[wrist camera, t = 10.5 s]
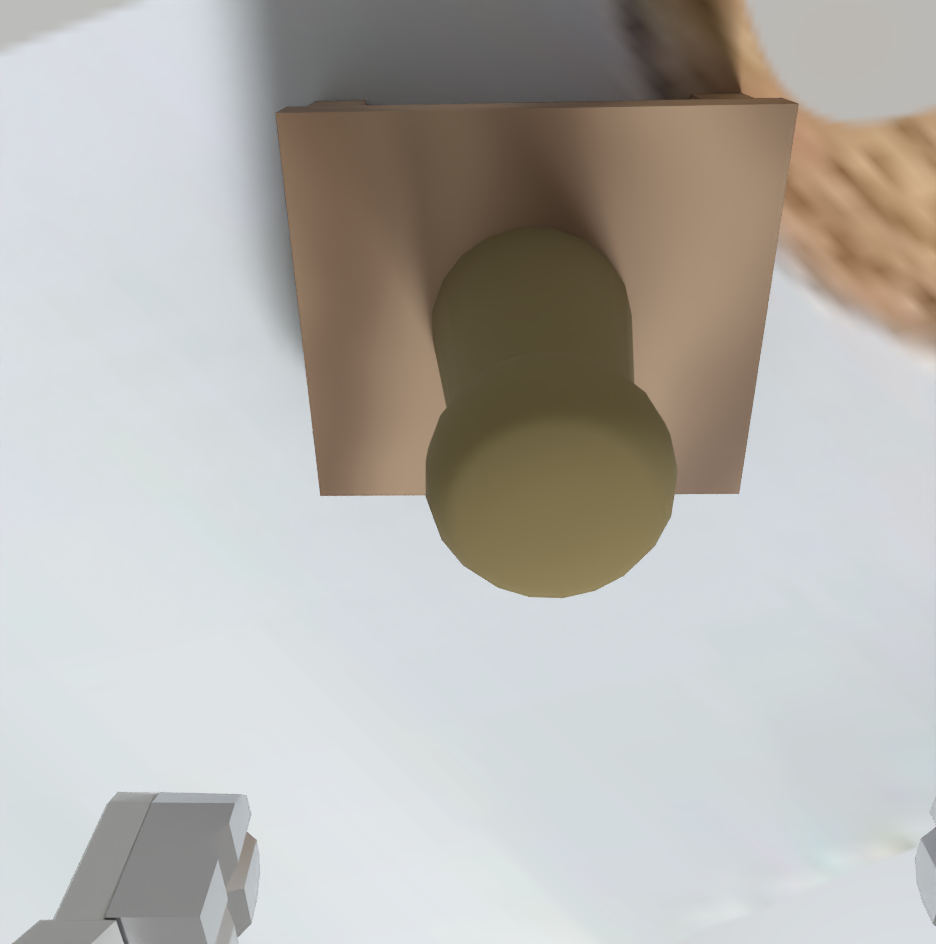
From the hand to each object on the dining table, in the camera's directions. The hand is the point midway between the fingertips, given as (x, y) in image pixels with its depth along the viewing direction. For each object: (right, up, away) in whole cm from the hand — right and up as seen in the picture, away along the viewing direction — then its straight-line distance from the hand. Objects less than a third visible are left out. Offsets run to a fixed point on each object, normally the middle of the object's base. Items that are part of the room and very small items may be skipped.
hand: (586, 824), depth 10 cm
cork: (0, +9, +16) cm, 18 cm away
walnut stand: (+1, +11, +20) cm, 23 cm away
